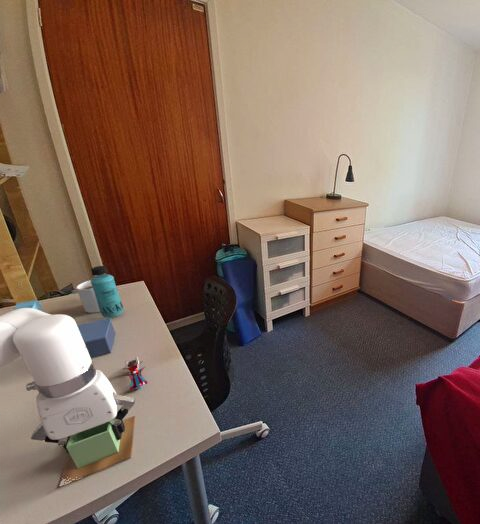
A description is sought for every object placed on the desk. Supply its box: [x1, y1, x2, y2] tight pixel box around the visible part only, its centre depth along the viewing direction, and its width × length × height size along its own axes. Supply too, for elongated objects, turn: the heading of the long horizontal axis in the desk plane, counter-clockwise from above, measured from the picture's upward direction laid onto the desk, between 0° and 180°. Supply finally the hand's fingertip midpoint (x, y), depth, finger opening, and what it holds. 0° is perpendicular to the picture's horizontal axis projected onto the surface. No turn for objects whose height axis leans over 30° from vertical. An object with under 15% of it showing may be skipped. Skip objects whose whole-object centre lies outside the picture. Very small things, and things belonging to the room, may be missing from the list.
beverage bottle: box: [89, 265, 124, 319], centre depth 100 cm, size 6×7×20 cm
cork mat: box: [60, 415, 136, 484], centre depth 60 cm, size 11×11×1 cm
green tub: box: [66, 422, 120, 469], centre depth 58 cm, size 6×6×6 cm
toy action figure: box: [122, 356, 149, 392], centre depth 76 cm, size 5×12×6 cm, turn 42°
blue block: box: [77, 317, 116, 359], centre depth 87 cm, size 11×11×6 cm
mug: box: [76, 279, 101, 314], centre depth 107 cm, size 11×10×10 cm
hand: (98, 442), depth 59 cm, fingers closed on green tub, 6 cm apart
